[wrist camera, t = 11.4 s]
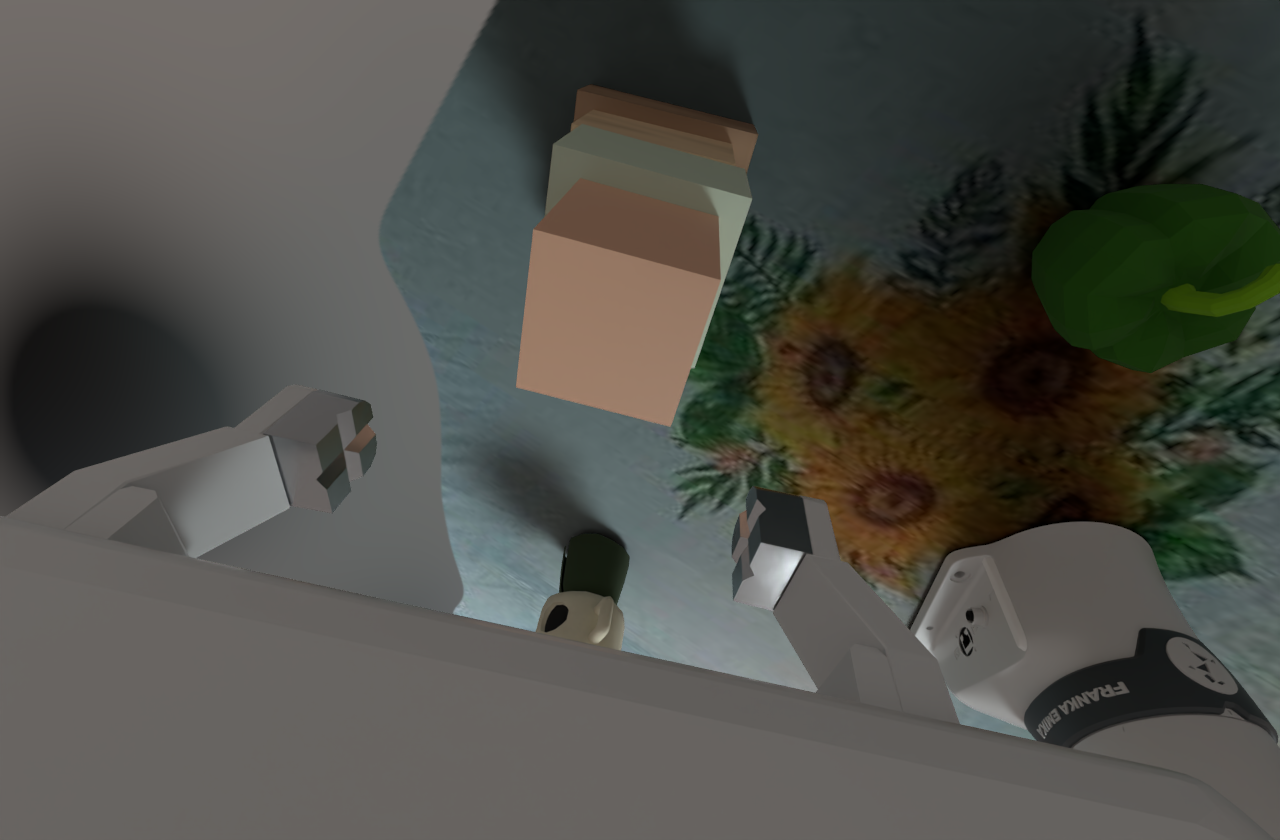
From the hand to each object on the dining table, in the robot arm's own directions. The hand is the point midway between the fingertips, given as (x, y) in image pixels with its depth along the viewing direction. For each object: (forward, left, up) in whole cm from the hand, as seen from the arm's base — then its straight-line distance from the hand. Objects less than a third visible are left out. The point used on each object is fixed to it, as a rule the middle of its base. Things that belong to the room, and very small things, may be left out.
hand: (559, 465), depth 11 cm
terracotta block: (0, 0, -11) cm, 11 cm away
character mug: (-33, -1, -25) cm, 41 cm away
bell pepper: (+2, -25, -25) cm, 35 cm away
